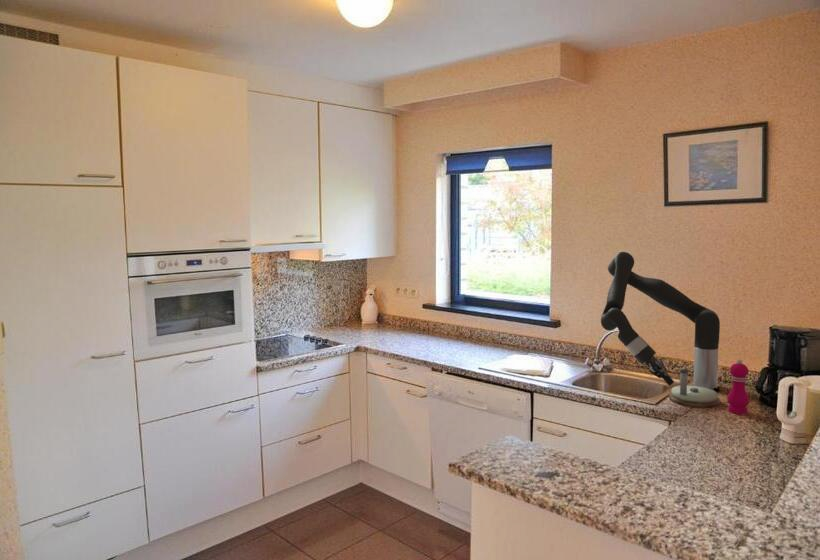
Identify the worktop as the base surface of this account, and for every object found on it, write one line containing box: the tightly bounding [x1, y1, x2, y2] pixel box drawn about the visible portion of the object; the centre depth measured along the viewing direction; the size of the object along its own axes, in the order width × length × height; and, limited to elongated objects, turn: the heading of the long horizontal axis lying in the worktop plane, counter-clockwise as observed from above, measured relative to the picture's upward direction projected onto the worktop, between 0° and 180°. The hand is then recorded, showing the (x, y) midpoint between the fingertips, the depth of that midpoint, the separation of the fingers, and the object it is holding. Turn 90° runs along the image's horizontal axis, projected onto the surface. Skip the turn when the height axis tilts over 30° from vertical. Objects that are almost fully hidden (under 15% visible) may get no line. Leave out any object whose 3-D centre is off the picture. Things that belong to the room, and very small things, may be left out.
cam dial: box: [671, 368, 718, 403], centre depth 232 cm, size 16×16×12 cm
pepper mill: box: [726, 359, 750, 415], centre depth 218 cm, size 7×7×20 cm
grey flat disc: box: [668, 391, 720, 409], centre depth 233 cm, size 18×18×2 cm
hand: (672, 383), depth 231 cm, fingers closed
